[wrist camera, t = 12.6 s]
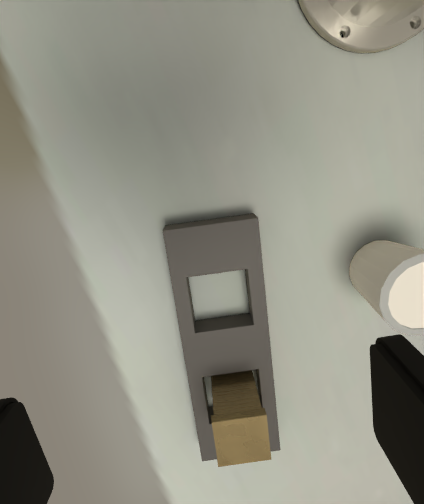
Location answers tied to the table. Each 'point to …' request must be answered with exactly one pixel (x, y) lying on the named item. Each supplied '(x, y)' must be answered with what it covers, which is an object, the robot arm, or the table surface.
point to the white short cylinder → (392, 283)
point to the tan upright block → (238, 420)
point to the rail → (223, 328)
